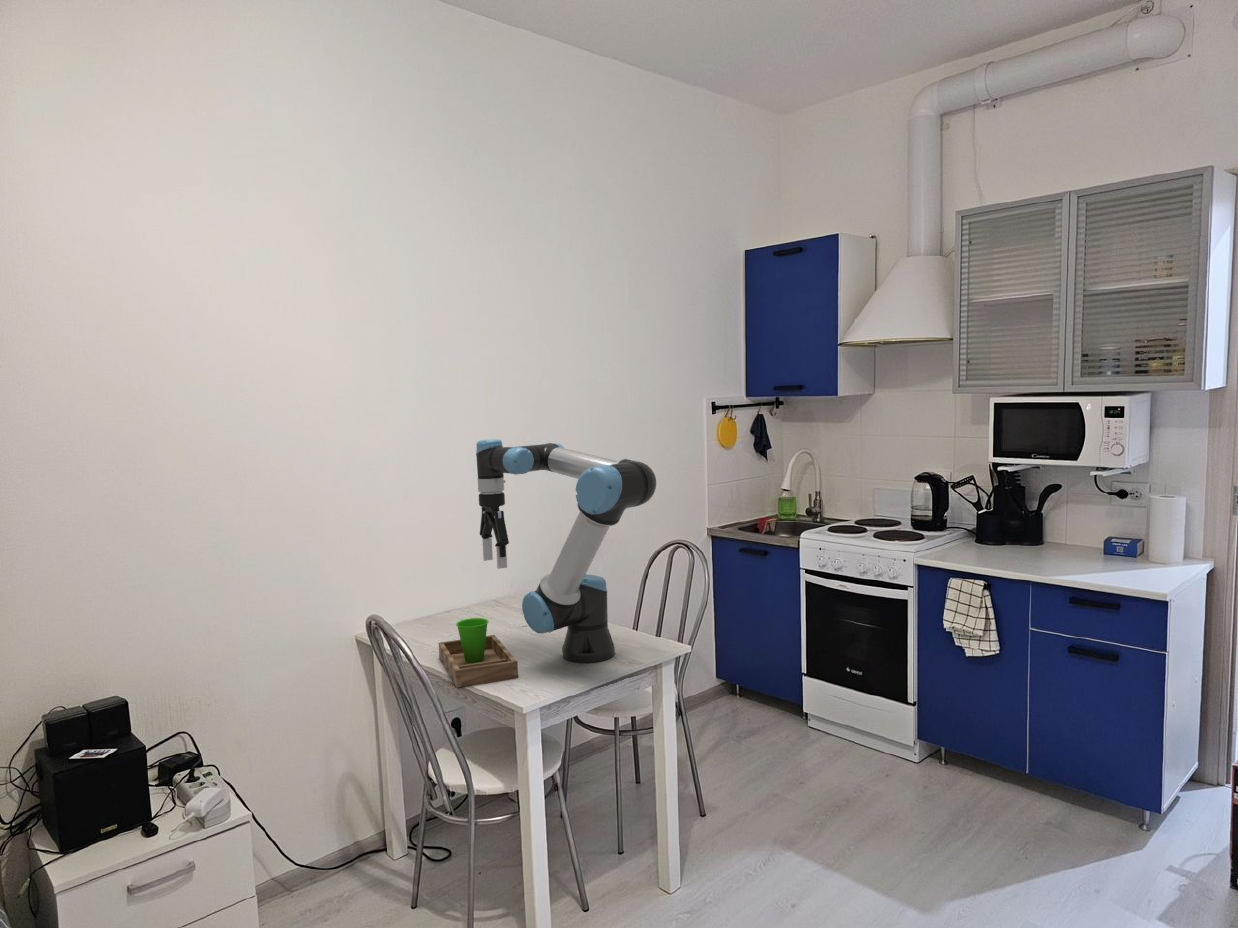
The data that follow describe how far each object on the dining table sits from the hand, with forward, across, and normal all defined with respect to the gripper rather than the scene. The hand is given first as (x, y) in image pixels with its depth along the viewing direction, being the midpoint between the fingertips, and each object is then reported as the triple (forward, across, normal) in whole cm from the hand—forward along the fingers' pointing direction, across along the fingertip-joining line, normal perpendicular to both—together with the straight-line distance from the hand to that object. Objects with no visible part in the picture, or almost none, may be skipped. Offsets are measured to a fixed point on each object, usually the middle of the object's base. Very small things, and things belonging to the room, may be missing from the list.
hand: (495, 564), depth 240 cm
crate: (+26, -12, +10) cm, 30 cm away
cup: (+25, -8, +10) cm, 28 cm away
